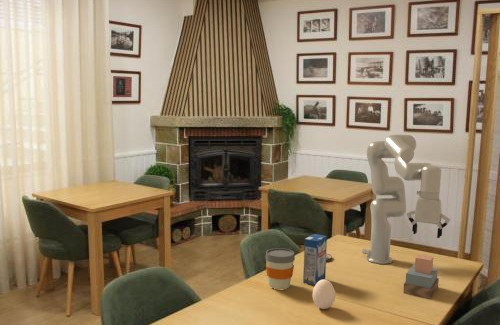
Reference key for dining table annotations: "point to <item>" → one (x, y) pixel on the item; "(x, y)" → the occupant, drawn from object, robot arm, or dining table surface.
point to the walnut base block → (421, 290)
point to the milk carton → (314, 259)
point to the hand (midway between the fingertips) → (426, 235)
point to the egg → (323, 294)
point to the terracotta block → (423, 264)
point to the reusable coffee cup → (279, 267)
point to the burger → (328, 257)
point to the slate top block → (421, 278)
